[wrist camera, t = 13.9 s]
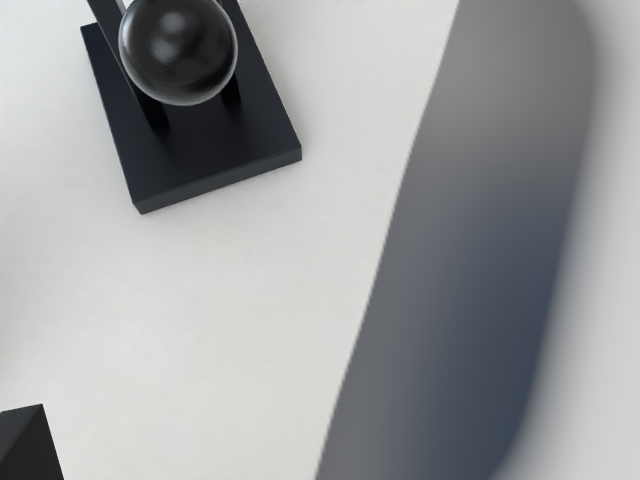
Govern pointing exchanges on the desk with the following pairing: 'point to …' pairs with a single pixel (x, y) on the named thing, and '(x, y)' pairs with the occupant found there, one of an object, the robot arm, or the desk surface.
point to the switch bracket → (189, 120)
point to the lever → (178, 49)
